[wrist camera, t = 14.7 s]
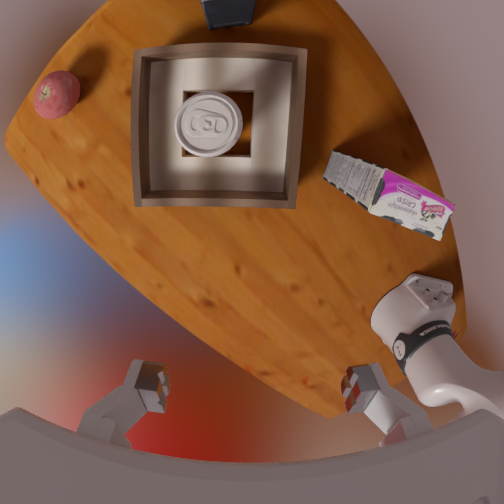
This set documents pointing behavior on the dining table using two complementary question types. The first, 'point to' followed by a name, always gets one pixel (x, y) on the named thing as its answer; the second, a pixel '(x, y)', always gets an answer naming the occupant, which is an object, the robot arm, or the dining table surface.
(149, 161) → the wooden box
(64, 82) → the apple
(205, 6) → the small box
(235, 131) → the beer can
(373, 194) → the candy bar box
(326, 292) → the dining table surface
